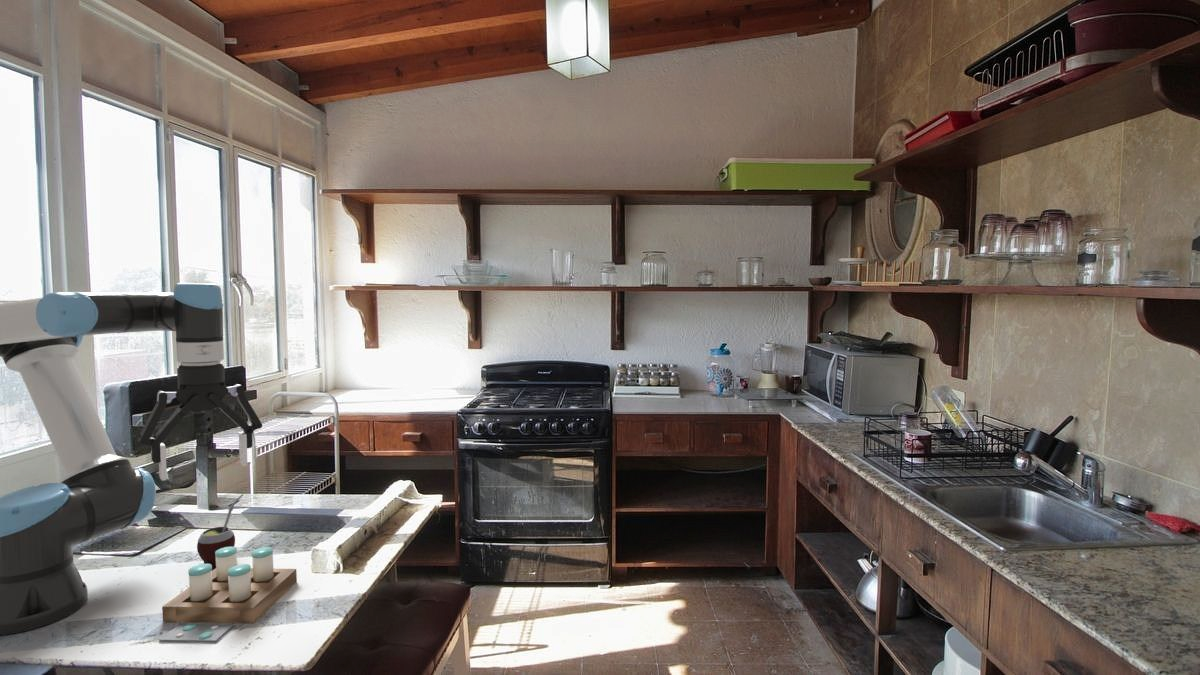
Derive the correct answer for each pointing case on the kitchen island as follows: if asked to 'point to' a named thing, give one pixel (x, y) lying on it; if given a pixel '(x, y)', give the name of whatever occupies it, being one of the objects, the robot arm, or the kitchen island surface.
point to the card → (197, 633)
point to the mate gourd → (216, 540)
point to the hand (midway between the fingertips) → (205, 471)
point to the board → (226, 610)
